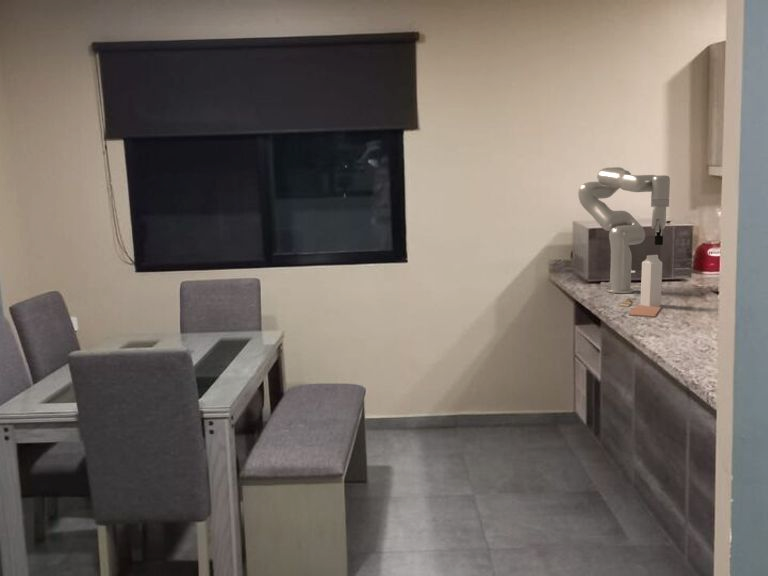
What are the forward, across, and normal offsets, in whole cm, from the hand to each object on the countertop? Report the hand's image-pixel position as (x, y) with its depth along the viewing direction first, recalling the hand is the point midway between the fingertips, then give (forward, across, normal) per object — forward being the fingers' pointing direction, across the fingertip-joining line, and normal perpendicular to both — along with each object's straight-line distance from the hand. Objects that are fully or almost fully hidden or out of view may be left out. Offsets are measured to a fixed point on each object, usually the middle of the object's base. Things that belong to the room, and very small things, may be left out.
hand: (658, 244), depth 338 cm
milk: (+25, +17, 0) cm, 30 cm away
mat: (+25, +32, 0) cm, 40 cm away
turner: (+25, +17, -11) cm, 32 cm away
